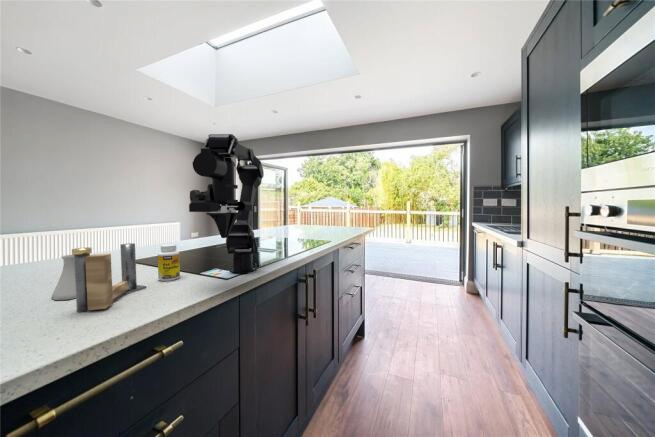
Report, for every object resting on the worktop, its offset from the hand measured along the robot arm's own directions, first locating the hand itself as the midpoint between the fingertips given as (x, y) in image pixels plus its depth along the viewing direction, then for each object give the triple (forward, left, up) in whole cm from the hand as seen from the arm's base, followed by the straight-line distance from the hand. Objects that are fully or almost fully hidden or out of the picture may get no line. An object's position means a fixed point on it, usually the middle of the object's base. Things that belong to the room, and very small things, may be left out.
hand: (224, 237), depth 71 cm
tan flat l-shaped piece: (+18, -16, -13) cm, 27 cm away
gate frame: (+17, -19, -13) cm, 29 cm away
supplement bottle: (0, -20, -13) cm, 24 cm away
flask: (+18, -30, -13) cm, 37 cm away
